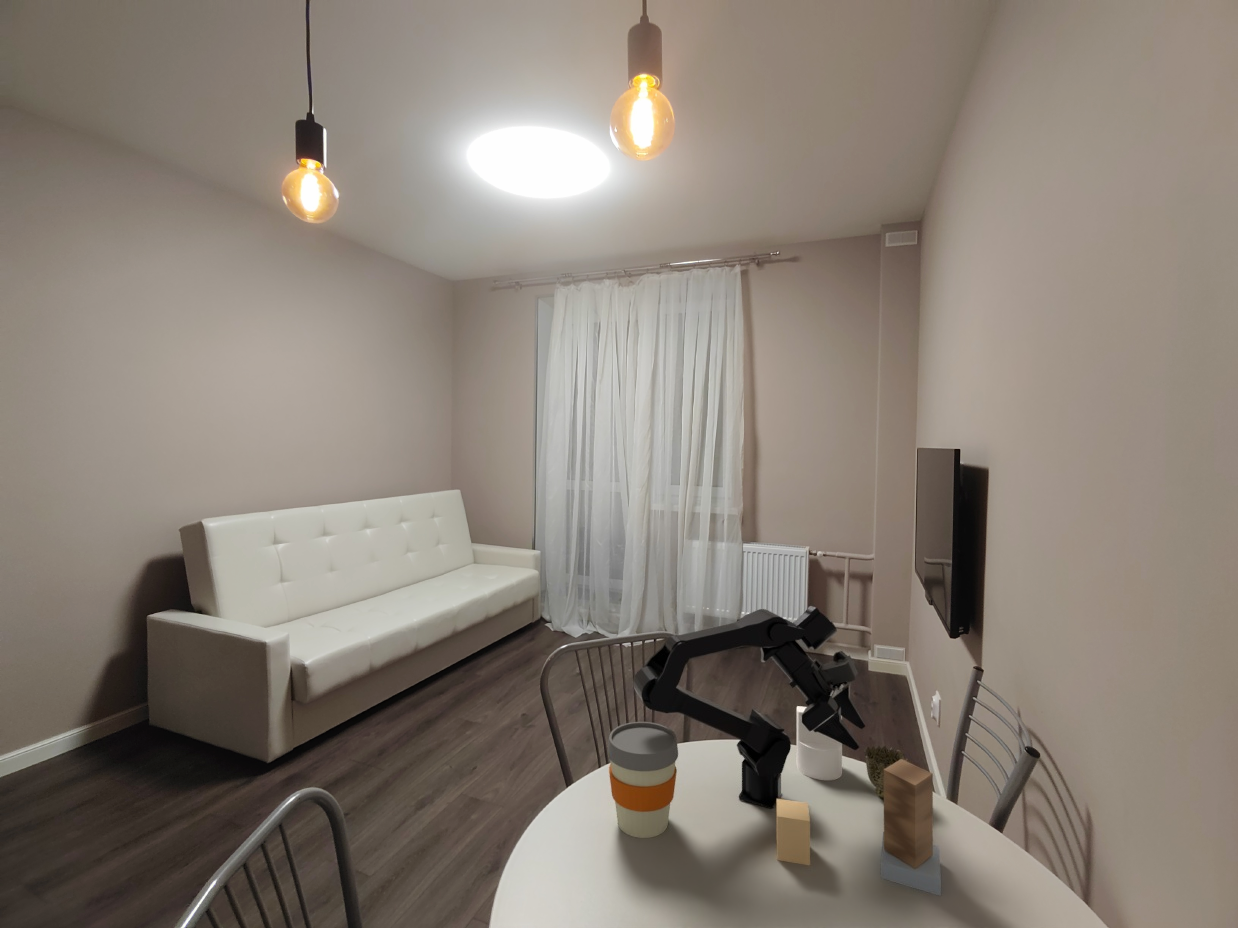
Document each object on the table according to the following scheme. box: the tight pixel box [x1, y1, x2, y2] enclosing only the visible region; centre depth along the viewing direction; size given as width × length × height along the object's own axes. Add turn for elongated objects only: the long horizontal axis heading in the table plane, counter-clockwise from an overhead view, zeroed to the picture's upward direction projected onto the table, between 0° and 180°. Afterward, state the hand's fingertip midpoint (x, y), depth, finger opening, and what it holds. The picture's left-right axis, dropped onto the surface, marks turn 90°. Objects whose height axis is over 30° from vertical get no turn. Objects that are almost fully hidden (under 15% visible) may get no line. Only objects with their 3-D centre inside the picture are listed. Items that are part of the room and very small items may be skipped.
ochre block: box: [776, 798, 811, 866], centre depth 93 cm, size 5×5×7 cm
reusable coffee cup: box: [607, 721, 679, 839], centre depth 101 cm, size 12×13×15 cm
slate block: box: [880, 831, 942, 897], centre depth 89 cm, size 8×8×3 cm
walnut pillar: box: [883, 759, 934, 869], centre depth 88 cm, size 5×5×13 cm
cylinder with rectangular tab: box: [796, 705, 843, 781], centre depth 118 cm, size 9×9×12 cm
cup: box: [864, 744, 909, 800], centre depth 109 cm, size 8×7×8 cm
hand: (860, 737), depth 103 cm, fingers open, 9 cm apart
